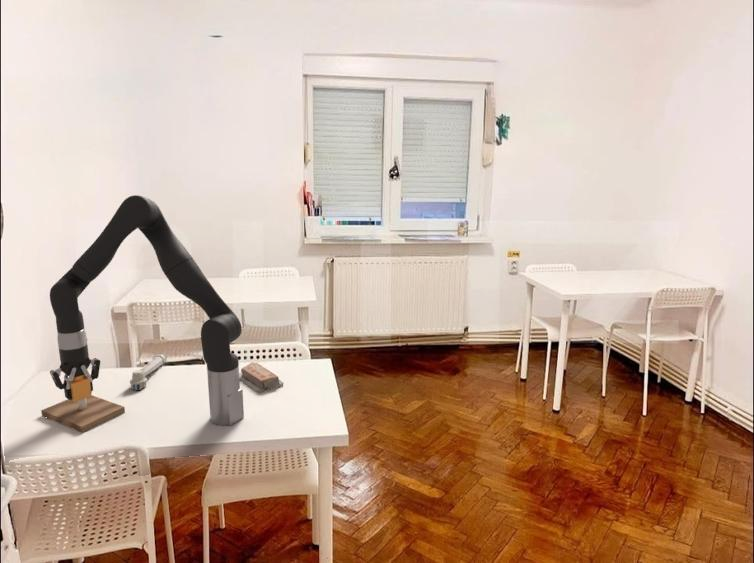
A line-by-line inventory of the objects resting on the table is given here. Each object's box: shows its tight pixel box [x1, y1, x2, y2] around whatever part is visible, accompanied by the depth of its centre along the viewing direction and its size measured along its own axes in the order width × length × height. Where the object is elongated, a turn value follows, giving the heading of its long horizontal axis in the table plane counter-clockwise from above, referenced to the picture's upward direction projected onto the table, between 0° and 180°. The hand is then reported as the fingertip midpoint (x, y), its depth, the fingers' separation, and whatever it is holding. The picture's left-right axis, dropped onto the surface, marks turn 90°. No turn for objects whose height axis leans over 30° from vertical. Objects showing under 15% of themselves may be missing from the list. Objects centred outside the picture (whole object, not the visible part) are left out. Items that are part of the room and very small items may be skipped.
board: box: [41, 395, 126, 433], centre depth 164 cm, size 20×14×2 cm
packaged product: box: [239, 362, 284, 394], centre depth 189 cm, size 18×5×10 cm
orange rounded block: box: [70, 375, 93, 402], centre depth 161 cm, size 5×5×7 cm
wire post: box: [78, 398, 87, 410], centre depth 163 cm, size 2×2×7 cm
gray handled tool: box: [129, 353, 168, 391], centre depth 192 cm, size 5×7×25 cm
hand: (79, 395), depth 162 cm, fingers closed on orange rounded block, 5 cm apart
